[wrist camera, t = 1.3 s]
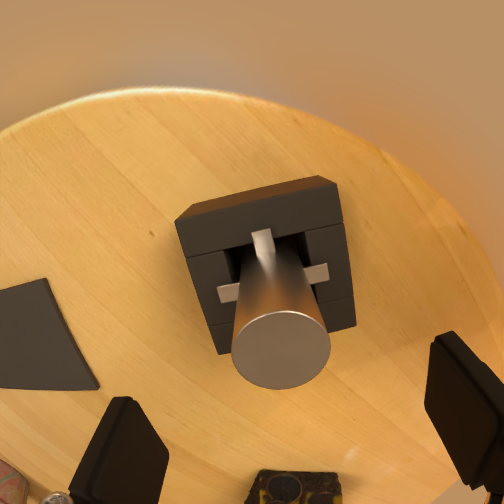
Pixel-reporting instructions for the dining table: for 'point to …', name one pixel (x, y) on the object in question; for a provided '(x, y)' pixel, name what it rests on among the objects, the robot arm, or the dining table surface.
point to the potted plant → (12, 485)
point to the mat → (38, 343)
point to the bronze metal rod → (277, 314)
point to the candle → (295, 488)
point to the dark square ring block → (282, 224)
